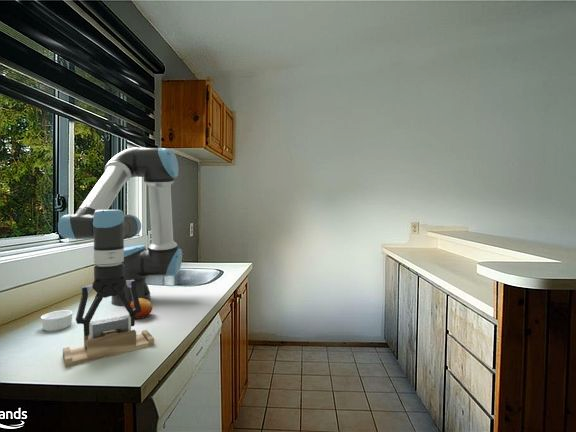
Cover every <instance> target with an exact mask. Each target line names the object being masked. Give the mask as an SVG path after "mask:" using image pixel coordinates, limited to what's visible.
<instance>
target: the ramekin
mask: <svg viewBox="0 0 576 432" xmlns="http://www.w3.org/2000/svg"><path fill="white" fill-rule="evenodd" d="M40 320H41V326H42V329H43V331H45V330H46V332H53V331H54V332H55V331H60V330H64V329H67V328H68V327H70V326H71V325H72V321H73V311H72V310H69V309H65V310H64V309H62V310H61V309H60V310H53V311H51V312H48V313H44V314H42V315H41V316H40Z"/></svg>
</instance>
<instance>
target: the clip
mask: <svg viewBox="0 0 576 432" xmlns="http://www.w3.org/2000/svg"><path fill="white" fill-rule="evenodd" d="M91 322H92V324H93V339H94V338H99V337H101V332H106V331H111V330H115V329H119V333H122V332H126V331H128V317H127V316H126V315H122V316H116V317H111V318H106V319H99V320H95V321H91Z"/></svg>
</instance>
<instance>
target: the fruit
mask: <svg viewBox="0 0 576 432" xmlns="http://www.w3.org/2000/svg"><path fill="white" fill-rule="evenodd" d="M138 299H139V303H140V307H141V312H140V313H137V314H136V315H135V319H147V318H148V317H149V316H150V315H151V313H152V311H153V309H154V306H153V305H152V302H151V301H149V300H147V299H144V298H138ZM130 306H131V308H132V309H134V308H135V307H134V303H133V301H132V302H131V304H130Z"/></svg>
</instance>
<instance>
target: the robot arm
mask: <svg viewBox="0 0 576 432" xmlns="http://www.w3.org/2000/svg"><path fill="white" fill-rule="evenodd" d="M178 176H179V164H178V158H177V156H176V154H175V152H174V151H173V150H172V149H170V148H163V147H131V148H126V149H123V150H121V151H120V152H119V153H117V154H115V155H114V156H113V157H111V159H110V160H108V162H107V163H106V165H105V167H104V173H103V174H102V175H101V177H100V178H99V180H98V181H97V182H96V183H95V185H94V187H93V188H92V189H91V191H90V192H89V193H88V195H87V196H86V197H85V199H84V200H83V201H82V203H81V205H80V206H79V207H78V209H77V210H76V211H75V213H74V214H72V213H69V214H64V215H62V216H61V217H60V218H59V220H58V222H57V229H58V230H57V231H58V233H59V234H60V236H61V237H62V238H64V239H69V240H70V239H72V240H93V263H94V267H93V282H92V284H89V285H82V286H81V287H80V290H81V297H80V301H79V303H78V309H77V312H76V317H75V322H76V324H77V325H80V324H81V325H83V336H84V335H85V336H88V340H89V339H93V324H92V322H93V321H92V319H93V317H94V315H95V313H96V311H97V309H98V308H99V305H100V303H101V302H102V301H103V299H104V298H105V299H107V298H109V297H111V304H113V305H116V306H124V307H125V309H126V311H127V312H128V314H125V316H127V317H128V331H131V330H132V327H134V326H135V324H136V322H135V319H136V318H135V315H136V314H137V313H140V312H141V307H140V303H139V299H138V298H144V299H147V300H148V301H149V300H150V299H151V292H150V288H149V286H148V283H147V277H174V276H176V275H178V273H179V271H180V269H181V266H182V262H183V261H182V260H183V250H182V249H181V248H178V243H177V242H176V241H174V230H173V228H174V227H173V224H174V223H173V211H172V210H173V209H172V208H173V206H172V189H171V187H172V185H173V183H175V179H176V178H177V177H178ZM135 177H136V178H137V177H139V178H143V182H144V183H145V184H146V185H147V187H148V200H149V201H148V203H149V216H150V217H149V218H150V232H151V235H150V236H151V243H150V244H149V245H148V248H147V246H146V244H143V245H141V244H138V245H133V246H126V247H125V240H127V239H128V240H129V239H132V238H134V237H136V236H137V235H138V234H139V233H140V232H141V230H142V223H141V220H140V219H139V218H138V217H137V216H136V215H132V214H124V212H123V210H121V209H110V208H111V206H112V204H113V202H114V201H115V199H116V198H117V196H118V194H119V193H120V192H121V189H122V188H123V186H124V185H125V183H127V182H130V180H131V179H132V178H135ZM92 290H94V291H95V292H96V294H95V297H94V299H93V301H92V303H91V305H90V306H89V308H88V310H87V313H86V314H85V310H86V306H87V301H88V298H89V294H91V292H92ZM132 301H133V303H134V307H135V308H134V309H132V308H131V306H130V304H131V302H132ZM84 314H85V316H84Z"/></svg>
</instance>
